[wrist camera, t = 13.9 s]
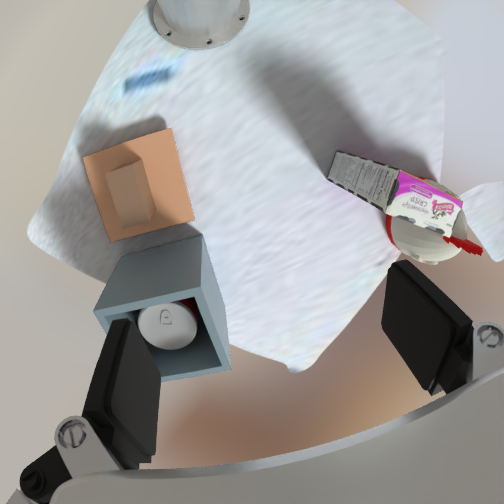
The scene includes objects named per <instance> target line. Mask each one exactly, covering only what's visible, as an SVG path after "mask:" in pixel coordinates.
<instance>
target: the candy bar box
mask: <svg viewBox="0 0 504 504" xmlns="http://www.w3.org/2000/svg"><path fill="white" fill-rule="evenodd" d="M327 180H329V181H330V182H332V183H334V184H336V185H338V186H339V187H341V188H343V189H345V190H347V191H348V192H350V193H352V194H354V195H355V196H357V197H359V198H361V199H362V200H364V201H366V202H368V203H369V204H371V205H373V206H375V207H376V208H378V209H379V210H381V211H383V212H384V213H385V214H388V215H391V216H394V217H396V218H399V219H402V220H404V221H407V222H410V223H412V224H415V225H418V226H420V227H423V228H426V229H428V230H431V231H433V232H436V233H438V234H441V235H444V236H446V237H450V236H451V234H452V231H453V229H454V226H455V223H456V221H457V218H458V214H459V213H460V212H461V208H462V205H463V201H461V200H460V199H458V198H456V197H454V196H452V195H451V194H449V193H447V192H445V191H443V190H441V189H439V188H438V187H436V186H434V185H432V184H430V183H428V182H426V181H424V180H422V179H420V178H418V177H416V176H414V175H412V174H409V173H407V172H405V171H403V170H401V169H397V168H394V167H391V166H388V165H385V164H382V163H379V162H376V161H372V160H369V159H365V158H361V157H358V156H355V155H351V154H348V153H344V152H341V151H336V154H335V156H334V160H333V164H332V167H331V169H330V172H329V175H328V178H327Z"/></svg>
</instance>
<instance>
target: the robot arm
mask: <svg viewBox="0 0 504 504" xmlns="http://www.w3.org/2000/svg"><path fill="white" fill-rule="evenodd" d="M249 13H250V3H249V0H157V1H156V3H155V6H154V11H153V19H154V23H155V26H156V28H157V30H158V32H159V33H160V34H161V35H162V37H163V38H164V39H166V40H167V41H168V42H169V43H171V44H173V45H175V46H178V47H181V48H184V49H192V50H204V49H210V48H214V47H217V46H220V45H222V44H224V43H226V42H228V41H230V40H231V39H233V38H234V37H235V36H237V35H238V34H239V32H240V31H241V30H242V29H243V27H244V26H245V24H246V22H247V20H248V17H249ZM240 18H242V19H243V20H239V19H240ZM168 34H171V35H170V36H167V35H168ZM208 42H211V44H207V43H208ZM386 284H387V285H386V292H385V300H384V307H383V315H382V322H381V324H382V329H383V331H384V332H385V334H386V335H387V336H388V338H389V339H390V341H391V342H392V344H393V345H394V346H395V348H396V349H397V351H398V352H399V354H400V355H401V357H402V358H403V360H404V361H405V362H406V364H407V366H408V367H409V368H410V370H411V372H412V373H413V374H414V376H415V378H416V379H417V380H418V382H419V384H420V385H421V387H422V388H423V389H424V390H428V392H429V393H430V395H431V396H433V395H435V394H437V393H439V392H441V391H442V390H444V391H445V393H446V395H445V396H443V397H441V398H439V399H437V400H435V401H433V402H431V403H429V404H427V405H425V406H423V407H421V408H418V409H416V410H415V411H412V412H410V413H408V414H405V415H403V416H401V417H399V418H396V419H394V420H391V421H389V422H386V423H384V424H382V425H379V426H377V427H374V428H371V429H368V430H366V431H363V432H360V433H357V434H354V435H351V436H348V437H346V438H343V439H339V440H336V441H333V442H329V443H326V444H322V445H319V446H316V447H312V448H308V449H304V450H300V451H296V452H292V453H288V454H283V455H278V456H273V457H268V458H263V459H257V460H252V461H245V462H239V463H232V464H224V465H215V466H205V467H194V468H177V469H147V470H146V469H139V463H151V455H155V452H156V435H157V421H158V409H159V397H160V387H161V374H160V371H159V369H158V367H157V365H156V363H155V361H154V359H153V357H152V356H151V354H150V352H149V350H148V348H147V346H146V344H145V342H144V340H143V338H142V336H141V334H140V332H139V330H138V328H137V326H136V324H135V322H134V321H130V320H129V319H128V318H123V319H116V320H113V321H112V322H111V325H110V328H109V331H108V333H107V336H106V339H105V342H104V345H103V348H102V351H101V354H100V357H99V360H98V362H97V364H96V368H95V371H94V374H93V377H92V381H91V384H90V387H89V391H88V394H87V398H86V401H85V405H84V409H83V413H82V416H70V417H68V418H66V419H64V420H63V421H62V422H61V423H60V424H59V425H58V427H57V429H56V431H55V438H54V439H55V443H56V445H55V446H54V447H53V448H51V449H50V450H49V451H47V452H46V453H45V454H43V455H42V456H41V457H39V458H38V459H36V460H35V461H34V462H32V463H31V464H30V465H29V466H27V467H26V468H25V469H24V470H23V472H22V474H21V476H20V487H21V490H20V491H19V490H18V489H16V491H15V492H14V493H13V495H12V496H11V498H10V499H9V500H8V502H7V503H6V504H504V330H503V329H502V328H501V327H500V326H498V325H497V324H495V323H491V322H482V323H479V324H478V325H476V327H475V328H473V326H472V322H473V321H472V320H471V319H470V318H469V317H468V316H467V315H466V314H465V313H464V312H463V311H462V310H461V309H460V308H459V307H458V306H457V305H456V304H455V303H454V302H453V301H452V300H451V299H450V298H449V297H448V296H447V295H446V294H444V293H443V292H442V291H441V290H440V289H439V288H438V287H437V286H436V285H435V284H434V283H433V282H432V281H431V280H430V279H428V278H427V277H426V276H425V275H424V274H423V273H422V272H421V271H420V270H418V269H417V268H416V267H415V266H414V265H413V264H412V263H411V262H409V261H408V260H401V261H397V262H394V263H392V265H391V267H390V268H389V269H388V274H387V283H386ZM138 469H139V470H138Z"/></svg>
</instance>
